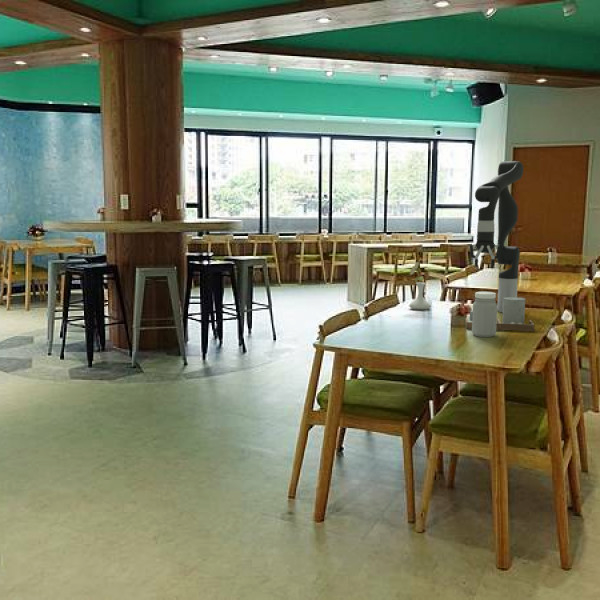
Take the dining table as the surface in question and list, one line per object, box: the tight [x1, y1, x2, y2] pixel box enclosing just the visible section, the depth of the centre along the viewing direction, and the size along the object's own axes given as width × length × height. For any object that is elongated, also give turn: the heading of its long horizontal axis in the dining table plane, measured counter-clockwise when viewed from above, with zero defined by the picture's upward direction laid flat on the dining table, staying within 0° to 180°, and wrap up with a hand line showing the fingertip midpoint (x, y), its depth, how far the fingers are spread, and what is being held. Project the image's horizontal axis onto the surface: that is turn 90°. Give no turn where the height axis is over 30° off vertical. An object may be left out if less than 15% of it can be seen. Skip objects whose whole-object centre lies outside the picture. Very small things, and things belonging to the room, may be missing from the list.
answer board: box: [465, 317, 535, 332], centre depth 287 cm, size 12×28×3 cm, turn 78°
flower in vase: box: [408, 261, 432, 311], centre depth 336 cm, size 13×11×25 cm
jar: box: [471, 291, 498, 338], centre depth 271 cm, size 10×10×18 cm
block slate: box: [469, 309, 473, 321], centre depth 309 cm, size 4×4×4 cm
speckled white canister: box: [501, 296, 526, 324], centre depth 294 cm, size 10×10×12 cm
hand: (484, 267), depth 299 cm, fingers open, 6 cm apart
